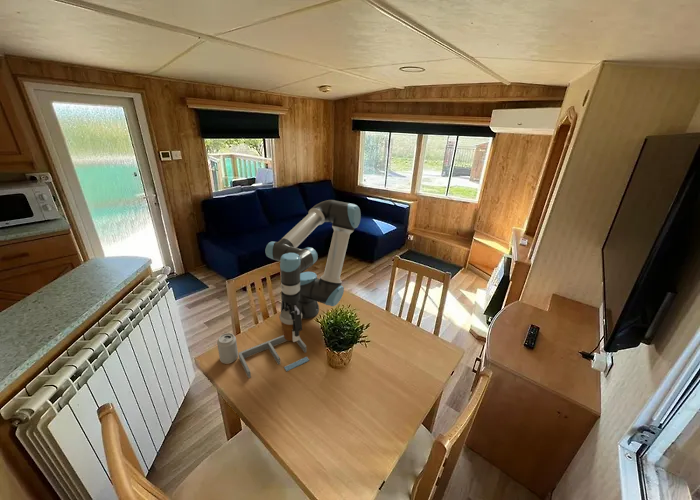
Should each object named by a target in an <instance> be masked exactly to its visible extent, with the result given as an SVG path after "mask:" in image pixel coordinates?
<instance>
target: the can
mask: <svg viewBox="0 0 700 500" xmlns="http://www.w3.org/2000/svg"><path fill="white" fill-rule="evenodd" d="M216 344H217V351H218V356H219V361H220V362H221V363H222V364H232V363H233V362H235V361H236V360H237V359H238V358H239V351H238V344H237V337H236V336H235V335H234V333H232V332H225V333H223V334H221V335H220V336H219V337H218V340H217V342H216Z"/></svg>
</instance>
